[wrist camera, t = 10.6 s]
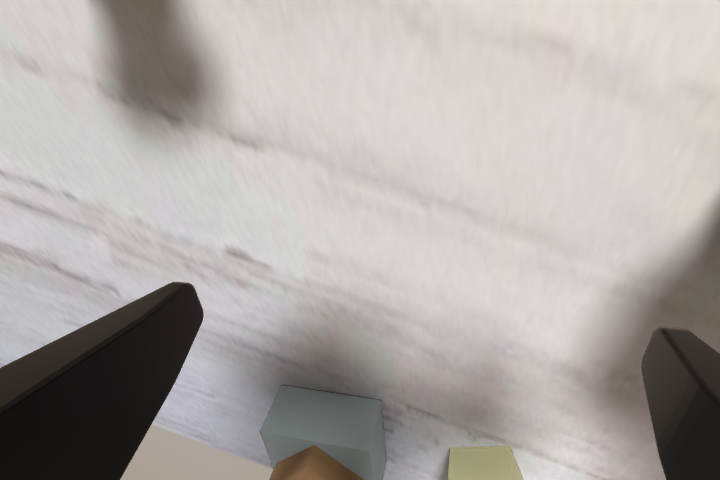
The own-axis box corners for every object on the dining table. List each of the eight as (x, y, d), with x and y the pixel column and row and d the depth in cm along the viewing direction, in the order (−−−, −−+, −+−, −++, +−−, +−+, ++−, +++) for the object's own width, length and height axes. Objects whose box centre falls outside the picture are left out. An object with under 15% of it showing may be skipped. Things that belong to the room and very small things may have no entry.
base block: (381, 400, 31) (369, 451, 28) (386, 460, 35) (377, 510, 32) (281, 385, 33) (259, 431, 30) (297, 443, 37) (280, 489, 34)
